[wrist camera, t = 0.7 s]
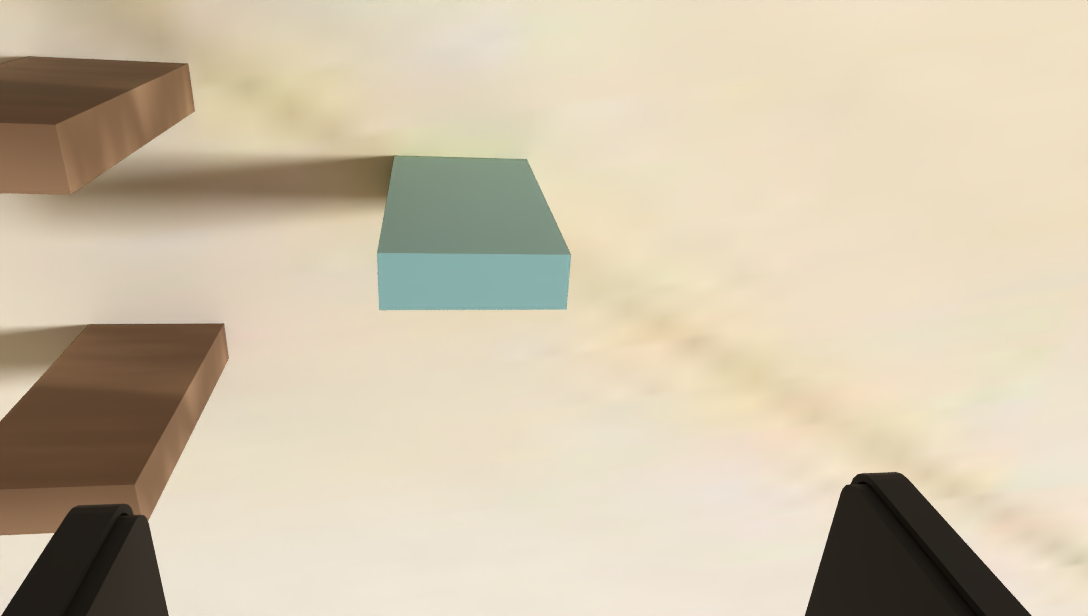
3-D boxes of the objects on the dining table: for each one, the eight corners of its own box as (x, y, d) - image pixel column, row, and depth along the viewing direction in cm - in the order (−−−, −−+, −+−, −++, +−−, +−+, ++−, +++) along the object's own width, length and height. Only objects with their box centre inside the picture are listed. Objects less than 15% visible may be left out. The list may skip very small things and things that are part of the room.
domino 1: (194, 111, 26) (70, 194, 17) (39, 105, 25) (-175, 189, 16) (188, 63, 25) (55, 124, 16) (28, 56, 25) (-201, 116, 16)
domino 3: (524, 199, 29) (566, 309, 20) (395, 196, 28) (379, 309, 19) (526, 159, 28) (570, 254, 19) (394, 155, 28) (377, 253, 19)
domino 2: (228, 358, 30) (143, 528, 21) (97, 360, 29) (-48, 537, 21) (223, 323, 30) (134, 484, 21) (89, 324, 29) (-64, 491, 20)
